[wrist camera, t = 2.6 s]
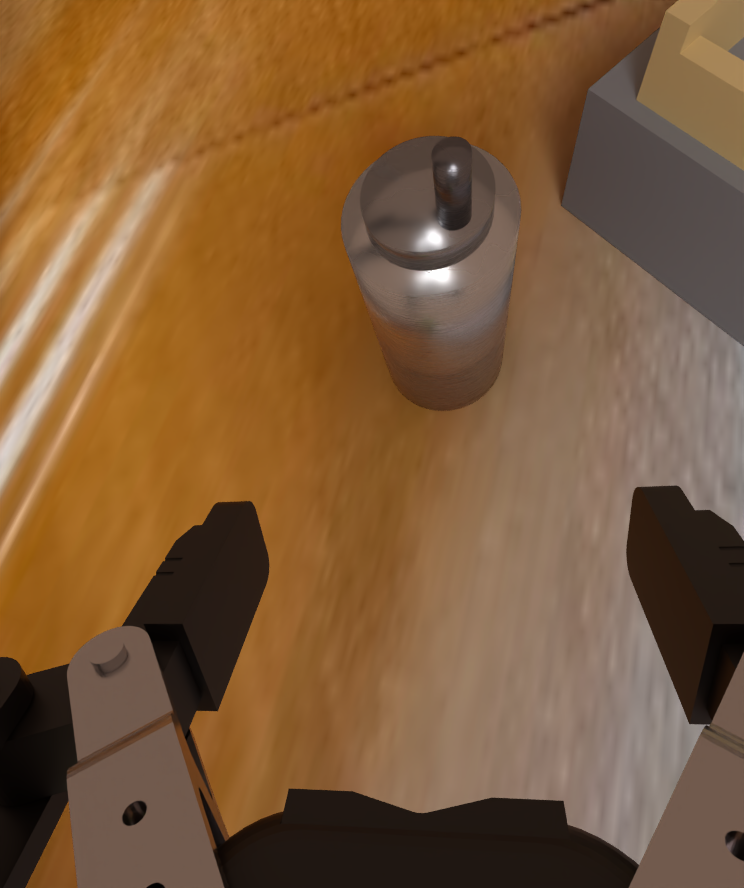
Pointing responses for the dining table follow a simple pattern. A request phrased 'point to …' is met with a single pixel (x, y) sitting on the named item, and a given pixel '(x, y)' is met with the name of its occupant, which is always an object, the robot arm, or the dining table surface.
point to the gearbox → (672, 158)
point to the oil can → (436, 265)
